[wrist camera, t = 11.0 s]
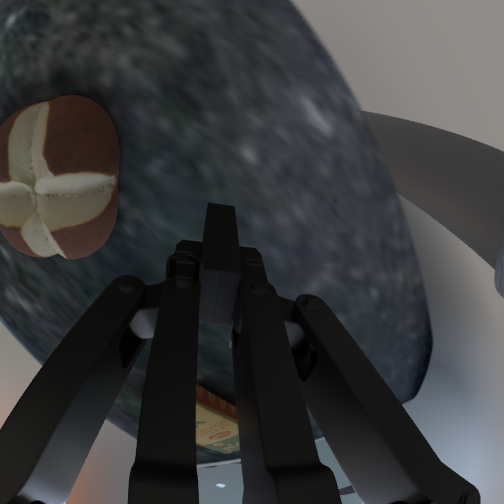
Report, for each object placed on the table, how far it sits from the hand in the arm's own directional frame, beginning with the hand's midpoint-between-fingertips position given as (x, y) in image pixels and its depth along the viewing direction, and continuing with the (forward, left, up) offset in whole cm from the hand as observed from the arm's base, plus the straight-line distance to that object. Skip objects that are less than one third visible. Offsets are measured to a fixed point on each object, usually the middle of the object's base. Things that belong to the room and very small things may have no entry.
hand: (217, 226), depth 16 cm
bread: (+12, -1, -3) cm, 13 cm away
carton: (-2, +27, -3) cm, 27 cm away
